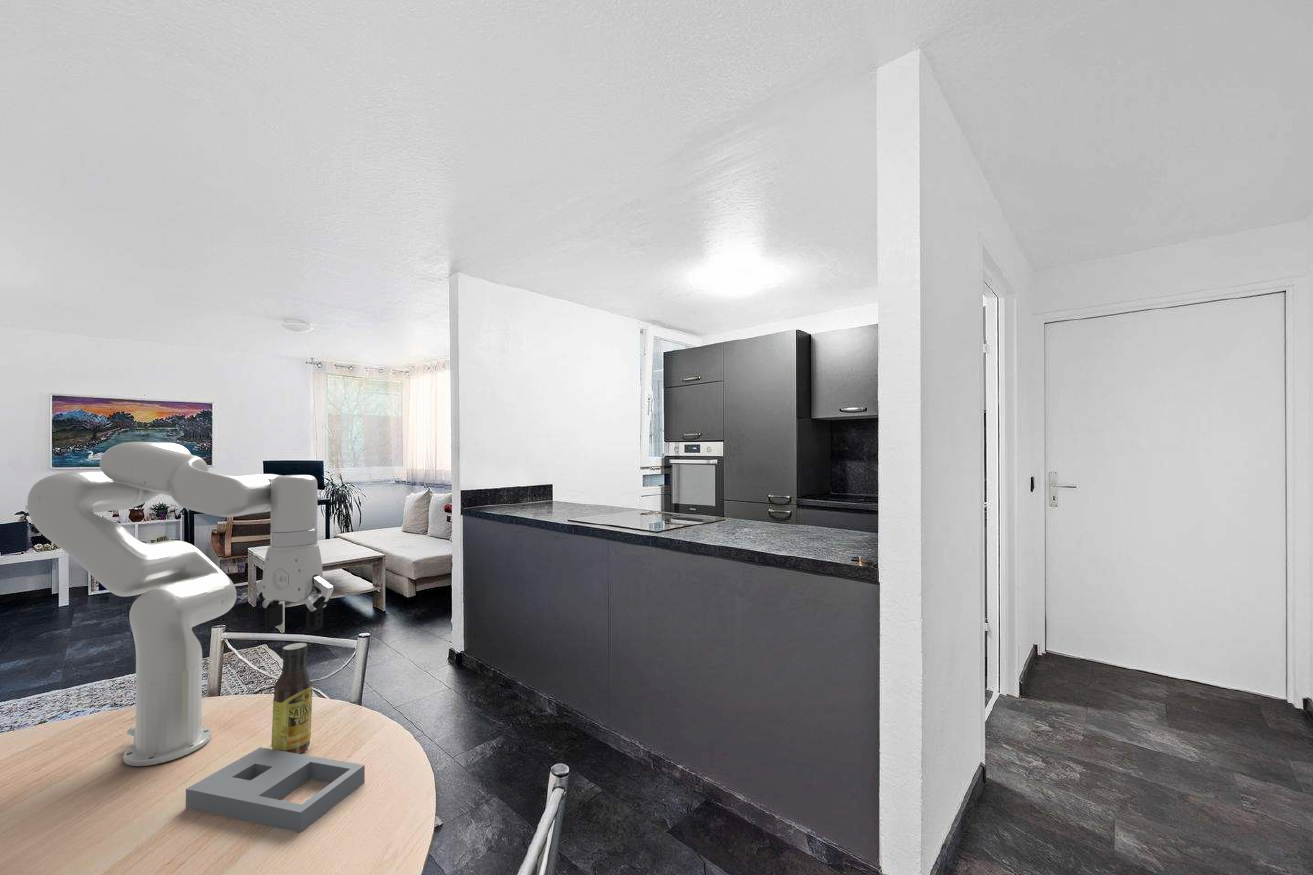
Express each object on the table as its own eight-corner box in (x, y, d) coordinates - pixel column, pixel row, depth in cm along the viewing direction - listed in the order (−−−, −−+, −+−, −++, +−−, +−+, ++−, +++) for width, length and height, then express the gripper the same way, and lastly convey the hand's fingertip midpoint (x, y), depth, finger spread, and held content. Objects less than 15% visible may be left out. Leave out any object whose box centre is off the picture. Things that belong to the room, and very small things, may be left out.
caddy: (185, 807, 87) (185, 788, 87) (259, 763, 99) (260, 747, 99) (300, 832, 81) (300, 812, 81) (364, 782, 93) (364, 764, 94)
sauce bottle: (290, 762, 99) (292, 654, 100) (262, 758, 101) (263, 651, 101) (319, 743, 106) (320, 641, 106) (292, 740, 107) (293, 639, 107)
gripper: (240, 541, 102) (239, 631, 102) (314, 544, 98) (313, 638, 98) (276, 534, 110) (276, 619, 109) (347, 537, 105) (347, 625, 105)
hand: (294, 628), depth 104 cm, fingers open, 9 cm apart
